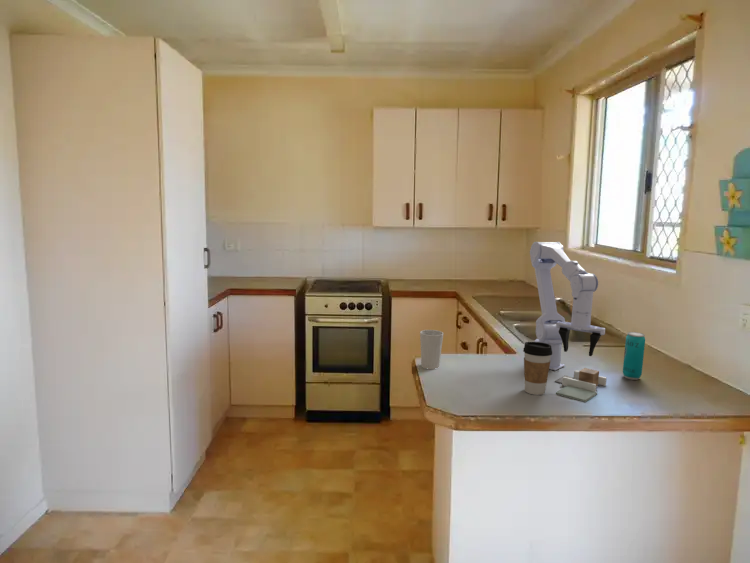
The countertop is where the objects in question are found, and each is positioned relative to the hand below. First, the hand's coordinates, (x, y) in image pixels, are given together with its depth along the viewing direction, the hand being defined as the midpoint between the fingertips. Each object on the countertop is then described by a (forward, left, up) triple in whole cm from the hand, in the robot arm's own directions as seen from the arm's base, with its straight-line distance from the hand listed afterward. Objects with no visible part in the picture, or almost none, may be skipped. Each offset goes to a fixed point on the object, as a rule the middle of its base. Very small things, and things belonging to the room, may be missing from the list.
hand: (578, 353), depth 173 cm
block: (+5, -1, -10) cm, 11 cm away
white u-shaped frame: (+2, -1, -9) cm, 10 cm away
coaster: (+5, -11, -9) cm, 16 cm away
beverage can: (+12, +18, -10) cm, 23 cm away
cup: (-42, -21, -10) cm, 48 cm away
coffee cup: (-5, -18, -10) cm, 21 cm away
